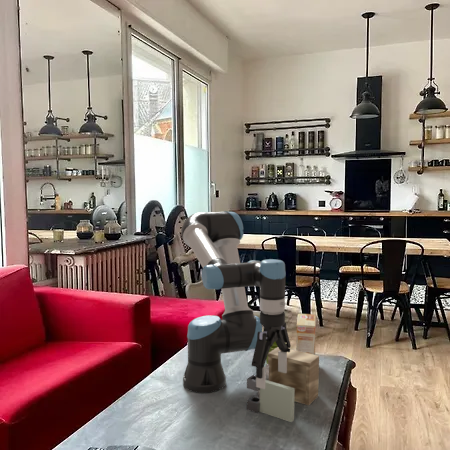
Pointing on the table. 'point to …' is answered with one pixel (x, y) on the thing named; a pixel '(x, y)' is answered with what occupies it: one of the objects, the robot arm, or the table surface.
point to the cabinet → (296, 374)
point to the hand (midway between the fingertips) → (272, 379)
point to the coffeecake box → (306, 333)
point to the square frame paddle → (272, 399)
